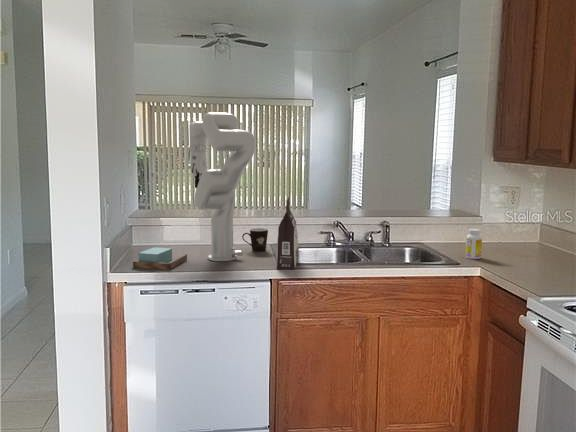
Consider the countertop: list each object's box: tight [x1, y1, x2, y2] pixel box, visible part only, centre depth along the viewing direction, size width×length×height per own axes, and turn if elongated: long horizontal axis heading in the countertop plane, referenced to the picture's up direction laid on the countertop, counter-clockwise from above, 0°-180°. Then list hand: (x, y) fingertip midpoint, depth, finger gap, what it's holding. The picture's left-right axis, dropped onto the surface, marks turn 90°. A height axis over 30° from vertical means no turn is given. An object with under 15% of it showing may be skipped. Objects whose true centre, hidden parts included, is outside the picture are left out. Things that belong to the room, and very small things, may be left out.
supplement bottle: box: [465, 228, 483, 260], centre depth 234 cm, size 7×7×13 cm
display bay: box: [132, 253, 188, 271], centre depth 219 cm, size 16×18×2 cm
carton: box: [138, 247, 173, 263], centre depth 218 cm, size 8×12×6 cm
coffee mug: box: [241, 227, 269, 253], centre depth 247 cm, size 12×9×10 cm
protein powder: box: [275, 196, 299, 270], centre depth 218 cm, size 16×9×28 cm, turn 177°
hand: (198, 187), depth 249 cm, fingers closed
